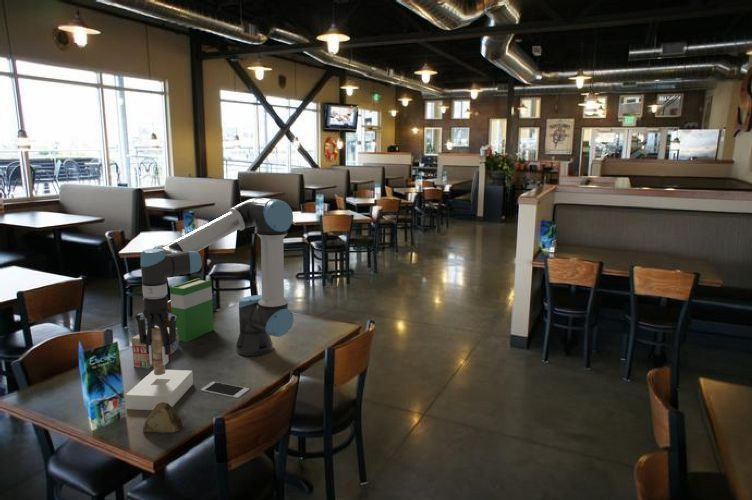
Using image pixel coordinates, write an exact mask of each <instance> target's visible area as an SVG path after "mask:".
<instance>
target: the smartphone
mask: <svg viewBox="0 0 752 500" xmlns="http://www.w3.org/2000/svg"><path fill="white" fill-rule="evenodd" d="M200 391H201V392H204V393H210V394H214V395H219V396H220V395H221V396H223V397H224V396H225V397H228V398H234V399H239V398H240V397H242V396H243V395H245V394H246V393H247V392H249V391H250V388H248V387H244V386H238V385H235V384H234V385H233V384H228V383H223V382H219V381H211V382H209V383H208V384H207V385H205V386H203V387H202V388H201V389H200Z"/></svg>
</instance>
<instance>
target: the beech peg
mask: <svg viewBox="0 0 752 500" xmlns="http://www.w3.org/2000/svg"><path fill="white" fill-rule="evenodd" d="M151 331H152V348H153V364H154V366H153V370H154V374H155V375H162V374H165V370H166V365H163V359H162V346H163V345H164V343H163V339H162V335H161V331H160V327H159V326H158V325H154V327H153V328H152V329H151Z"/></svg>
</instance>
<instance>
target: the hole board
mask: <svg viewBox="0 0 752 500" xmlns="http://www.w3.org/2000/svg"><path fill="white" fill-rule="evenodd" d="M193 375H194V374H193V370H187V369H186V370H181V369H165V374H162V375H155V374H154V369H153V370H152V371H150V372H149V373H148V374H147V375H146V376H145V377H143V379H141V380H140V381H139V382H137V384H136V385H135V386H133V388H131V389H130V390H128V392H127V393H126V394H125V406H126V407H125V408H126V410H139V411H153V409H154V408H155V407H156V405H157V404H159V403H161V402H165V403H168V404H169V405H170V406H172V408H174V406H175V404H177V402H178V401H180V399H181V398H182V397H183V396H184V394H186V392H187V391H188V390H189V389H190V388H191V387H192V386H193V385H194V381H193V380H194V379H193V378H194V376H193Z"/></svg>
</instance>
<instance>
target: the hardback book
mask: <svg viewBox="0 0 752 500" xmlns="http://www.w3.org/2000/svg"><path fill="white" fill-rule="evenodd" d="M212 283H213V282H212V279H208V280H202V279H201V278H200V277H197V278H194V279H192V280H188V281H185V282H181V283H178V284H175V285H172V286H169V294H170V295H169V297H170V308H171V309H170V310H171V312H170V313H171V314H173V315H175V314H176V315H177V319H176V328H178V337H179V342H183V343H187V342H191V341H192V340H195V339H197V338H198V337H201V336H203V335H206V334H208V333H210V332H212V331H214V313H213V312H214V309H213V288H212V286H213V285H212ZM205 333H206V334H205Z"/></svg>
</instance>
